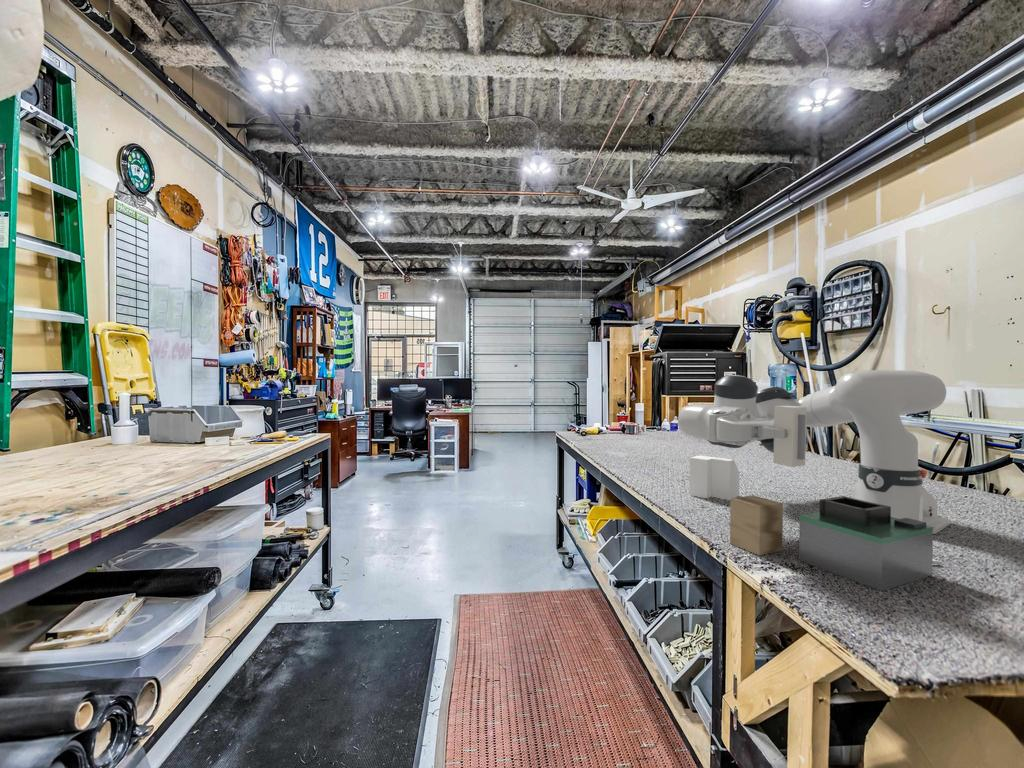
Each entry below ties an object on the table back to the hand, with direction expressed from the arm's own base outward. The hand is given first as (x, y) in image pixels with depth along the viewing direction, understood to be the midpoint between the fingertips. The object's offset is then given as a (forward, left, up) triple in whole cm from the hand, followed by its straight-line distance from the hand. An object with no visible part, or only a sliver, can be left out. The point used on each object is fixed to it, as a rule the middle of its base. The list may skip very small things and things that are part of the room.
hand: (794, 433), depth 88 cm
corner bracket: (-24, -41, -25) cm, 54 cm away
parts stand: (+3, -6, -25) cm, 26 cm away
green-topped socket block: (-7, +9, -25) cm, 27 cm away
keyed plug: (0, -1, -6) cm, 7 cm away
